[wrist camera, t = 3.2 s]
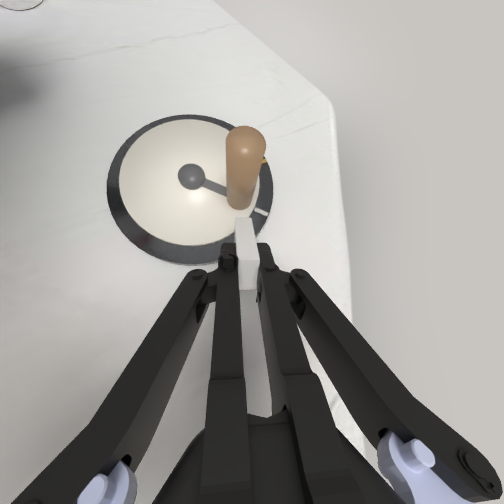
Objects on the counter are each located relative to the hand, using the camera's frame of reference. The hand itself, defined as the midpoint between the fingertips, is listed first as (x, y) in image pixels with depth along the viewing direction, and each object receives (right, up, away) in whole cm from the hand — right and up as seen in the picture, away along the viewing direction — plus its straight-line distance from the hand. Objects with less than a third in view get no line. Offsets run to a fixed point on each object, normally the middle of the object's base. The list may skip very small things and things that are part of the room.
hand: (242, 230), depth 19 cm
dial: (-6, +6, +5) cm, 10 cm away
